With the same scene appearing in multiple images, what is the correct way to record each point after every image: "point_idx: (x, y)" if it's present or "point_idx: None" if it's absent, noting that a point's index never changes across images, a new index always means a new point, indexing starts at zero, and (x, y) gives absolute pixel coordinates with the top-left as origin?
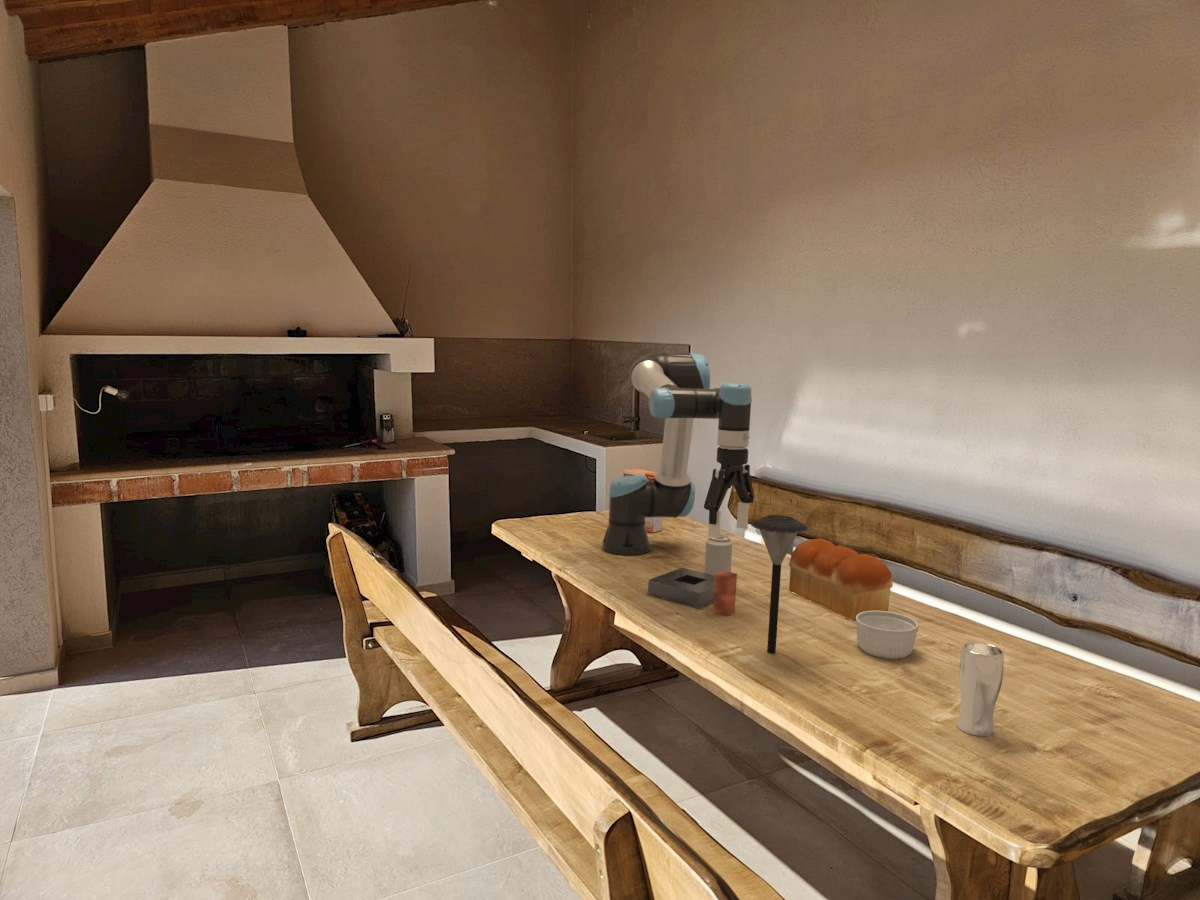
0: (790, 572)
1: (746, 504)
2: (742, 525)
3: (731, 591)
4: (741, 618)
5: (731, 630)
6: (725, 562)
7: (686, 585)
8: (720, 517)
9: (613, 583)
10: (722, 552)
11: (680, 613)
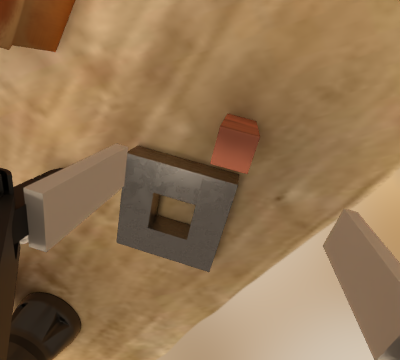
0: (22, 45)
1: (48, 197)
2: (120, 167)
3: (242, 125)
4: (255, 92)
5: (333, 90)
6: None
7: (205, 215)
8: (396, 275)
9: (191, 301)
10: None
11: (277, 194)
